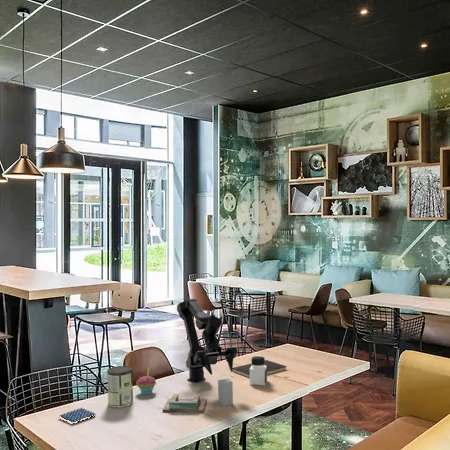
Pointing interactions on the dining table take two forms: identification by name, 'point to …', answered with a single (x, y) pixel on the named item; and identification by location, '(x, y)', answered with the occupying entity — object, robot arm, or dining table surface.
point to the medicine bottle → (258, 371)
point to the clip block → (225, 392)
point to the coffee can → (120, 386)
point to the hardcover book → (271, 366)
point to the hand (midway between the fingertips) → (221, 372)
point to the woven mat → (77, 415)
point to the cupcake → (146, 383)
